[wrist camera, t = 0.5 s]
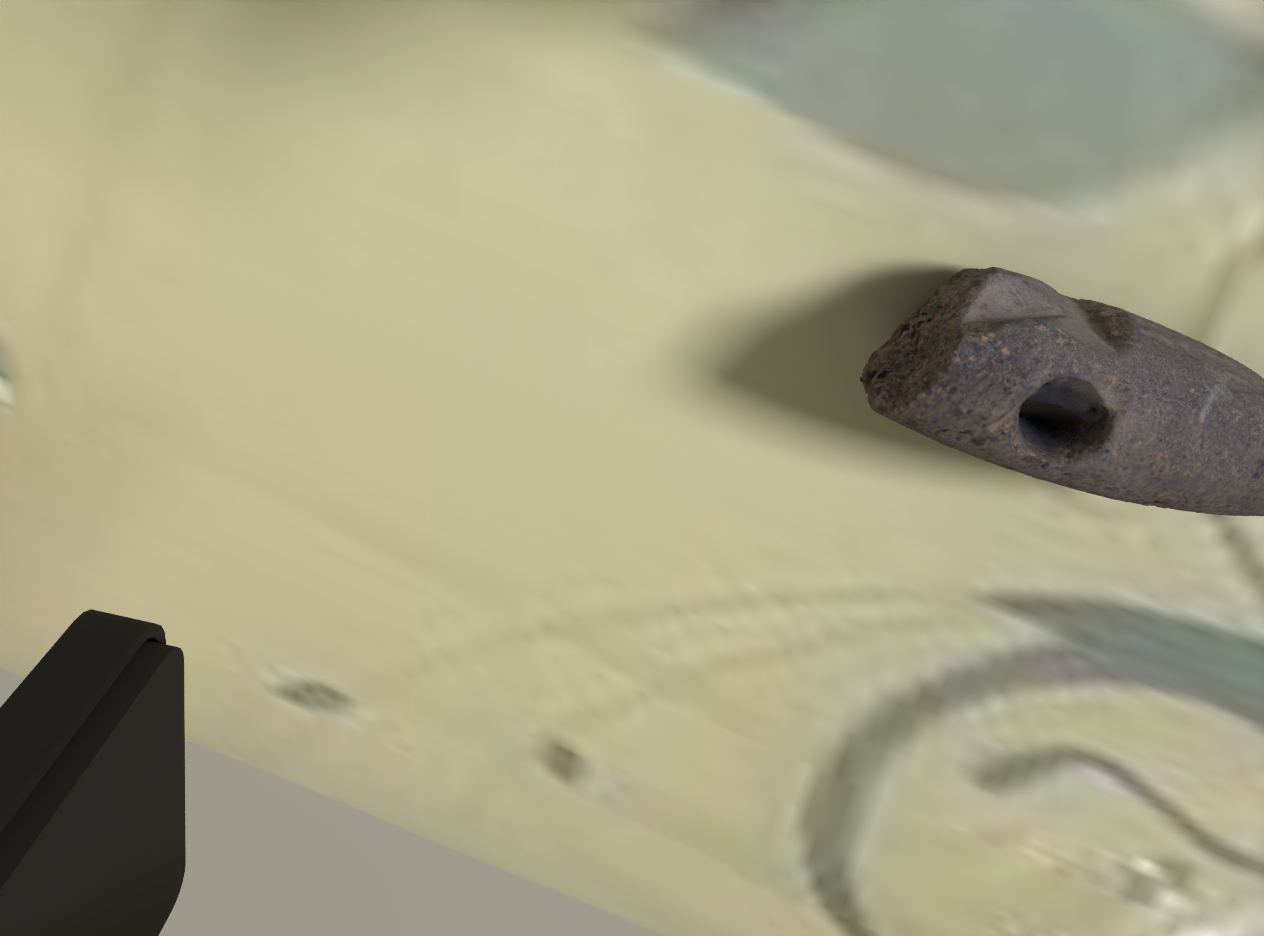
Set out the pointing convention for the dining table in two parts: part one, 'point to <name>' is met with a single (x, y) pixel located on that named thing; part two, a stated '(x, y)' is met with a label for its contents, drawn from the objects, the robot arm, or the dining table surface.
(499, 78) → the dining table surface
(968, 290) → the perforated stone tool
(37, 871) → the robot arm
